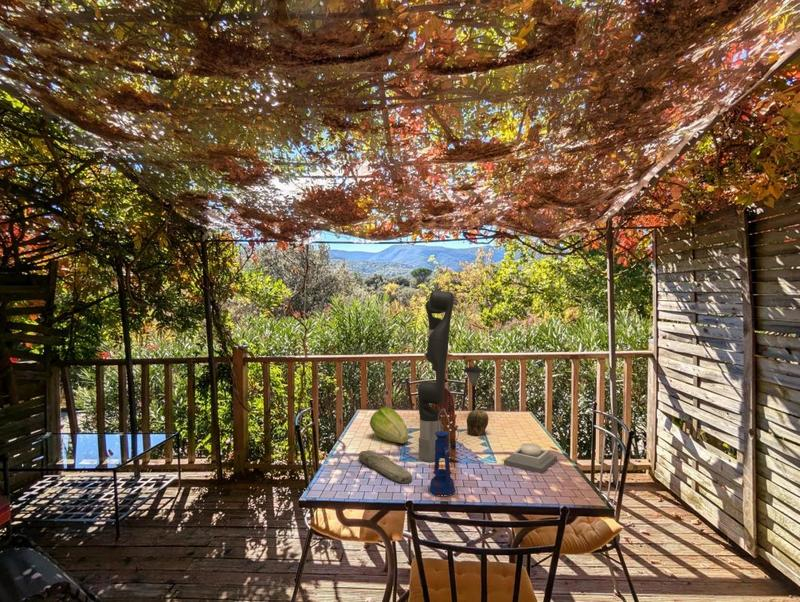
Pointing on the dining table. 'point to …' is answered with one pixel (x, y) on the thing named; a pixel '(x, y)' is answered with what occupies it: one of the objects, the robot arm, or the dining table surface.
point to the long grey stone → (385, 466)
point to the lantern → (442, 480)
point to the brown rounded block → (477, 422)
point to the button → (531, 450)
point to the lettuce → (389, 425)
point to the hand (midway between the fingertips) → (435, 370)
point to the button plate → (531, 461)
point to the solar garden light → (473, 380)
